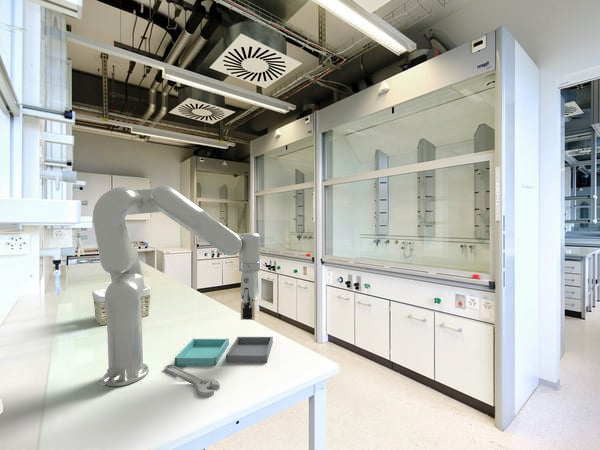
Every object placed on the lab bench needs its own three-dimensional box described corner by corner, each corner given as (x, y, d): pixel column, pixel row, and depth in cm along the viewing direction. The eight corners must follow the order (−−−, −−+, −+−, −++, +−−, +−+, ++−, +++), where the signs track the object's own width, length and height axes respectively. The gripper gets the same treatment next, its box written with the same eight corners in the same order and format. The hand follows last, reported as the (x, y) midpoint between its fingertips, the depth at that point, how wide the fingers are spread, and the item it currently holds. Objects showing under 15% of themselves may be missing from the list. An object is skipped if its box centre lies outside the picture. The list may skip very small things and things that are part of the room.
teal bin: (215, 366, 101) (215, 358, 101) (174, 366, 101) (174, 358, 101) (228, 346, 117) (228, 338, 117) (193, 346, 117) (193, 338, 117)
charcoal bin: (267, 364, 102) (266, 355, 102) (226, 364, 103) (226, 355, 103) (272, 344, 118) (272, 336, 118) (237, 344, 119) (237, 336, 119)
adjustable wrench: (162, 371, 99) (162, 366, 99) (181, 364, 104) (181, 359, 104) (205, 400, 83) (205, 393, 83) (224, 389, 88) (224, 383, 88)
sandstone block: (254, 319, 107) (254, 303, 107) (240, 319, 108) (240, 303, 108) (257, 315, 112) (257, 299, 112) (243, 315, 113) (243, 299, 112)
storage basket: (143, 309, 167) (143, 282, 166) (153, 315, 155) (152, 287, 155) (92, 319, 150) (91, 290, 150) (98, 328, 139) (97, 296, 138)
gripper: (255, 271, 101) (254, 324, 101) (263, 263, 118) (262, 309, 118) (233, 270, 101) (232, 324, 102) (244, 263, 118) (243, 309, 119)
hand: (249, 315), depth 110 cm, fingers closed on sandstone block, 5 cm apart
